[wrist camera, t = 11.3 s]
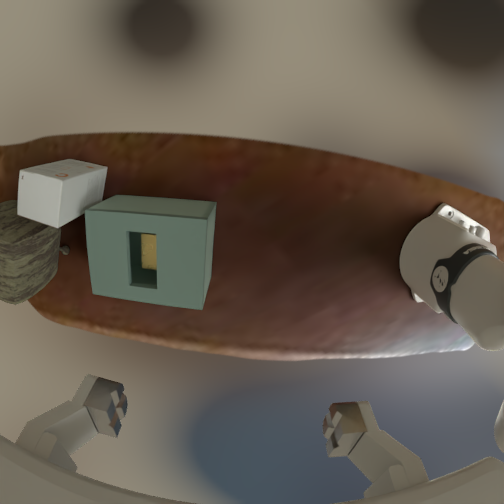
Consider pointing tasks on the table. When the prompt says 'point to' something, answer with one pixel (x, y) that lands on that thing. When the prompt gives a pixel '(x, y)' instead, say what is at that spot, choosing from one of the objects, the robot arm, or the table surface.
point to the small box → (59, 191)
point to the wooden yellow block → (148, 251)
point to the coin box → (167, 249)
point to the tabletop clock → (26, 254)
